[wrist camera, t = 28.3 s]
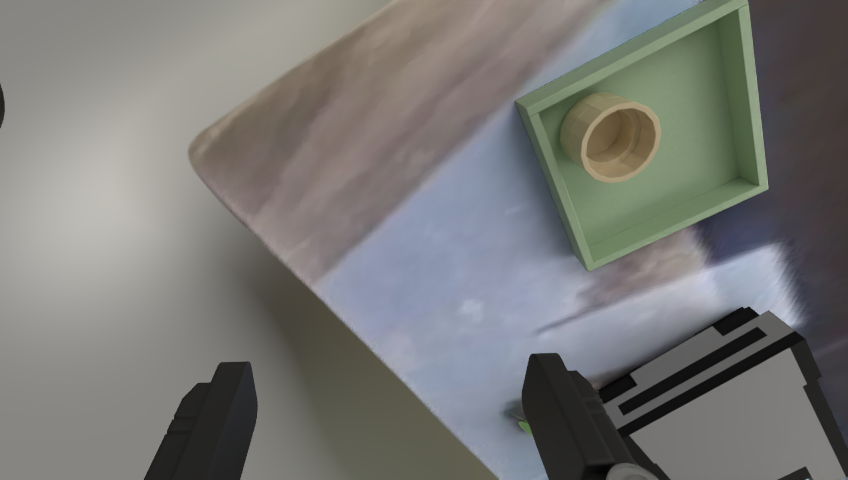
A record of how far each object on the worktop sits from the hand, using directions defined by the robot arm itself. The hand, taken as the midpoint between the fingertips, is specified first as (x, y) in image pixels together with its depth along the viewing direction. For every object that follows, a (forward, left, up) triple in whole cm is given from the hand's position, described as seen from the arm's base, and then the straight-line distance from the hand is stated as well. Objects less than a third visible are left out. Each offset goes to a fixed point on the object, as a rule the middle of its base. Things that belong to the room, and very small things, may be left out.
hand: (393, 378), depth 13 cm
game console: (+53, +20, -28) cm, 63 cm away
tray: (+12, +20, -28) cm, 37 cm away
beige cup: (+9, +16, -28) cm, 33 cm away
